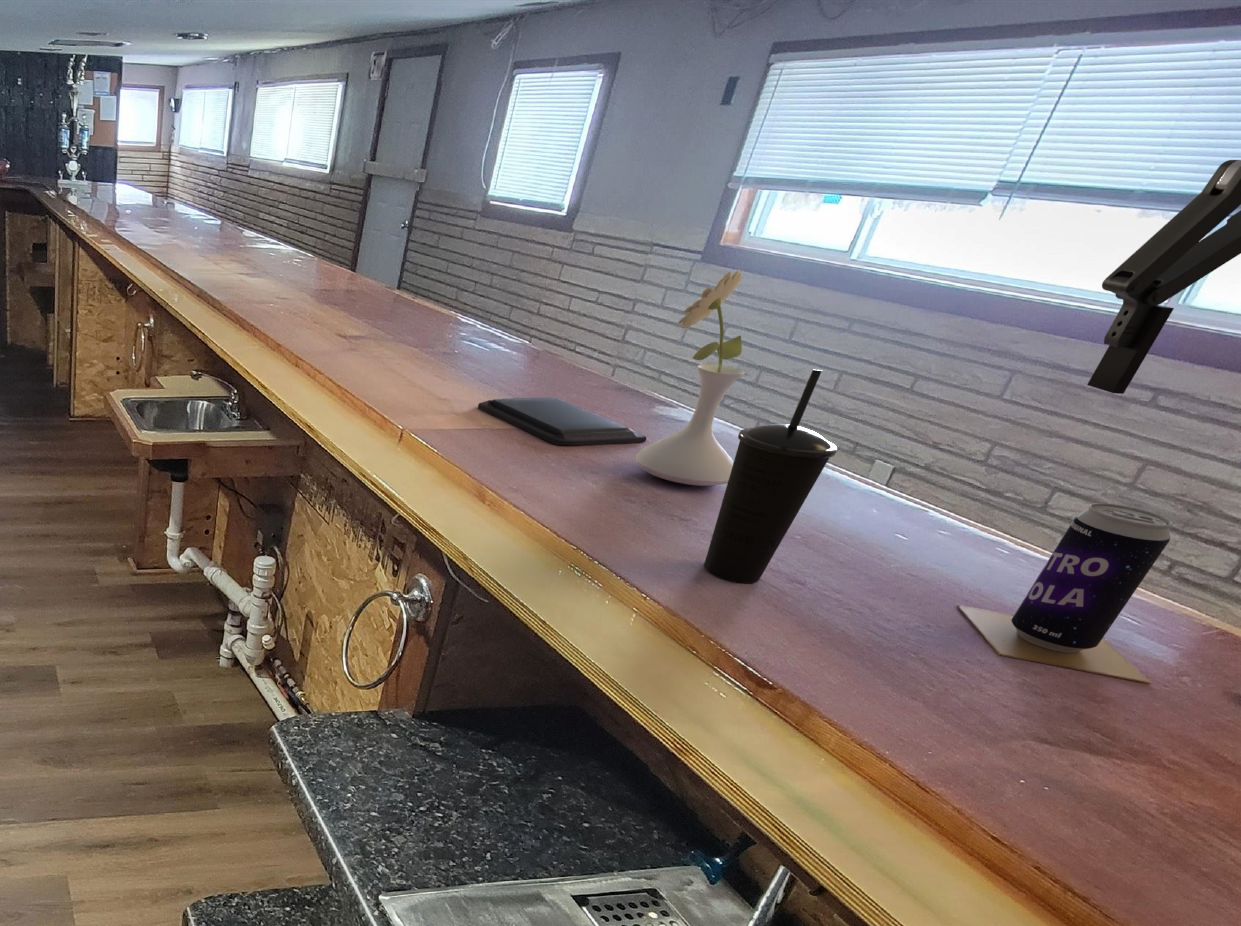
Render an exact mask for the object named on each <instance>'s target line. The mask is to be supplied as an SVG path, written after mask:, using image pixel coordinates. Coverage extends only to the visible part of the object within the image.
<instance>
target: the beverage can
mask: <svg viewBox="0 0 1241 926" xmlns="http://www.w3.org/2000/svg"><path fill="white" fill-rule="evenodd" d="M1173 525H1174V523H1173V522H1172V520H1170V519H1169V518H1167V517H1165V516H1163V515H1160V514H1158V513H1155V512H1151V511H1148V510H1144V509H1140V508H1136V507H1132V506H1128V505H1127V506H1126V505H1121V504H1115V503H1107V502H1095V503H1091V504H1090V505H1088V508H1087V509H1086V510H1084V511H1082V512H1081V513H1080V514H1078V515H1076V516H1075V517H1073V520H1072V521H1071V522H1070V524H1069V526H1068V528H1067V529H1066V531H1065V532H1064V534H1063V535H1062V537H1061V539H1060V540H1059V542H1058V544H1057V545H1056V547H1055V548H1054V550H1053V551H1052V554H1051V555H1050V557H1049V558H1048V560H1047V562H1046V563H1045V565H1044V566H1043V568H1042V569H1041V571H1040V572H1039V574H1038V576H1037V578H1036V579H1035V581H1034V582H1033V584H1032V586H1031V587H1030V589H1029V591H1027V594H1026V595H1025V596H1024V599H1023V600H1022V602H1021V603H1020V605H1019V607H1018V608H1017V609H1016V612H1015V613H1014V614H1013V615H1014V616H1013V618H1012V620H1011V621H1012V623H1013V625H1014V627H1015V628H1016V629H1017V634H1018V635H1019V636H1020V637H1021V638H1023V639H1024V640H1026V641H1028V642H1030V643H1033V644H1035V645H1038V646H1040V647H1043V648H1047V649H1050V650H1054V651H1059V652H1066V653H1075V652H1079V651H1080V650H1084V649H1090V648H1094V647H1096V646H1098V644H1099V643H1100V641H1101V640H1102V638H1103V639H1104V637H1105V636H1106V634H1107V632H1108V631H1109V630H1110V628H1111V627H1112V625H1113V624H1114V622H1115V621H1116V619H1117V618H1118V617H1119V615H1120V613H1122V611H1123V609H1124V608H1125V607H1126V605H1127V603H1128V602H1129V601H1130V599H1131V598H1132V596H1133V595H1134V593H1135V592H1136V590H1137V589H1138V587H1139V586H1140V584H1141V583H1142V582H1143V580H1144V579H1145V577H1146V576H1147V574H1148V573H1149V572H1150V570H1151V569H1152V567H1153V566H1154V564H1155V563H1156V561H1157V560H1158V558H1159V557H1160V555H1161V554H1162V553H1163V551H1164V550H1165V548H1166V547H1167V546H1168V544H1169V542H1170V541H1171V535H1170V534H1171V533H1170V528H1171V527H1172V526H1173Z"/></svg>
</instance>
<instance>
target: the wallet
mask: <svg viewBox="0 0 1241 926" xmlns="http://www.w3.org/2000/svg"><path fill="white" fill-rule="evenodd" d="M477 408H478V410H481V411H483V412H485V413H487V414H490V415H492V416H494V417H495V418H498V419H500V420H502V421H504V422H506V423H508V424H511V425H513V426H515V427H517V428H518V429H521V430H523V431H525V432H528V433H529V434H531V435H534V436H535V437H538V438H540V439H542V440H544V441H546V442H548V443H550V444H553V445H555V446H562V445H574V446H592V445H614V444H635V443H646V441H647V439H648V438H647V436H645V435H643V434H640V433H639V432H636V431H634V429H631V428H629V427H628V426H626V425H623V424H621V423H619V422H616V421H613V420H611V419H608V418H606V417H604V416H602V415H599V414H596V413H594V412H591V411H589V410H586V409H584V408H582V407H580V406H576V405H574V404H571V403H570V402H566V401H565V400H562V399H559V398H556V397H519V398H518V397H516V398H511V397H510V398H497V399H489V400H485V401H482V402H479V403H478V404H477Z"/></svg>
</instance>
